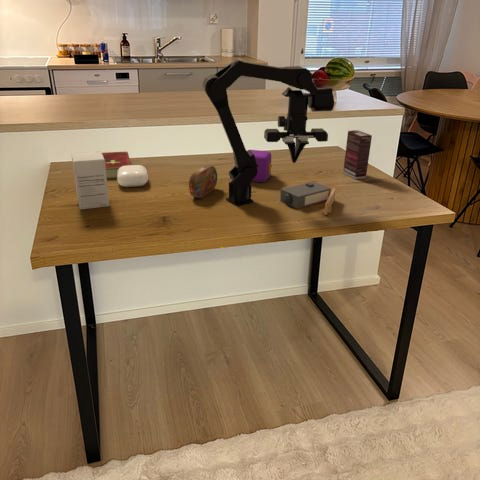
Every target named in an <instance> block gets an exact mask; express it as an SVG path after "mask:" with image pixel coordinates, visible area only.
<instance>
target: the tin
mask: <svg viewBox="0 0 480 480" xmlns="http://www.w3.org/2000/svg"><path fill="white" fill-rule="evenodd" d="M217 183H218V173H217V168H216V167H215V166H213V165H205V166H203V167H201V168H200V169H198V170H196V171H194V172H193V173H192V174H191V175H190V178H189V180H188V188H189V193H190V195H191V197H192V198H198V199H202V197H203V198H204V197H206V196H207V195H208V194H210V193H211V192H213V191H214V190H215V189H216V187H217Z"/></svg>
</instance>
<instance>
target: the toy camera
mask: <svg viewBox="0 0 480 480" xmlns="http://www.w3.org/2000/svg"><path fill="white" fill-rule="evenodd" d="M250 150H251V151H252V152H253V154H254V155H255V160H256V163H257V164H258V165H259V167H257V169H258V173H257V175H256V177H255V178H254V179H253V180H252V182H255V183H265V182H266V181H267V180H268V178H269V177H270V176H271V173H272V171H271V170H272V168H273V167H272V166H273V165H272V152H270V151H266V150H260V149H259V150H258V149H250Z"/></svg>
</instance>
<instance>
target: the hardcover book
mask: <svg viewBox="0 0 480 480" xmlns="http://www.w3.org/2000/svg"><path fill="white" fill-rule="evenodd" d="M102 155H103V157H104V159H105V167H106V176H107V179H110V178H117V171H118V169H119V168H120V167H122V166H126V165H131V160H130V156H129V152H128V151H110V152H109V151H107V152H105V151H104V152H102Z"/></svg>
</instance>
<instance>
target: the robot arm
mask: <svg viewBox="0 0 480 480" xmlns="http://www.w3.org/2000/svg"><path fill="white" fill-rule="evenodd" d="M241 77H248V78H249V77H250V78H253V79H254V78H255V79H261V80H266V81H272V82H273V81H275V82H279V83H282V84H285V85H288V86H289V87H287V88H286V89H285V90H284V91H283V92H282V93H281V95H282V96H284V97H285V98H288V105H287V114H286V116H284V115H280V116H278V118H277V127H278V128H283V131H280V130H279V129H278V128H266V129H265V130H264V131H263V132H264V133H263V138H264V139H265V141H266V142H267V143H278V142H279V141H280V140H281V139H282V140H281V141H282V142H283V143H284V145H286V146H287V147H288V150H289V155H290V158H291V162H292V164H296V163H297V161H298V159H299V157H300V154H301V153H302V151H303V150H304V149H305V147H306V145H309V144H310V142H309V139H315V141H317V142H319V143H320V142H328V140H329V133H328V132H327V131H326V130H325V129H324V128H318V127H317V128H311V129H310V131H307V122H308V109H310V110H311V112H332V111H333V110H334V106H335V97H334V93H333V92H334V91H333V90H334V89H333V88H332V87H322V88H321V87H317V86H316V85H315V83H314V81H313V74H312V72H311V71H310V70H309V69H308V68H305V67H303V66H299V65H298V66H297V65H295V66H293V65H292V66H272V65H267V64H261V63H255V62H254V63H253V62H249V61H244V60H243V61H242V60H240V59H234V60H232V61H231V62H230V63H229V64H228V65H226V66H224V67H223V68H221V69H219V70H218V71H217V72H216V73H215V74H209V75H207V76H206V77H205V78H204V79H203V81H202V88H203V91H204V93H205V94H206V96H207V97H208V99H209V102H211V103H212V106H213V107H214V109H215V110H216V112H217V115H218V117H219V121H220V122H221V125H222V127H223V130H224V132H225V136H226V137H227V140H228V143H229V145H230V147H231V150H232V153H233V161H234V166H233V167H232V169H231V170H230V171H228V176H229V178H230V181H229V182H228V197H225V200H226V201H227V202H230V203H231V204H233V205H235V206H242V205H245V204H249V203H253V202H254V199H252V187H253V186H252V185H251V184H252V182H253V181H252V180H253V179H254V178H255V177H256V175H257V173H258V169H257V167H259V165H258V164H257V163H256V160H255V155H254V154H253V152H252V151H251V150H252V149H246V146H245V144H244V141H243V139H242V136H241V134H240V131H239V129H238V126H237V123H236V121H235V118H234V115H233V114H232V110H231V109H230V105H229V96H228V92H227V90H228V89H229V88H230V87H231V86H232V85H234V83H235V82H236V81H237V80H238V79H239V78H241ZM290 87H293V88H295V89H292V88H290ZM302 90H303V91H304V90H305V91H306V92H305V93H304V92H303V91H302ZM307 92H308V93H307ZM294 139H295V141H294Z"/></svg>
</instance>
